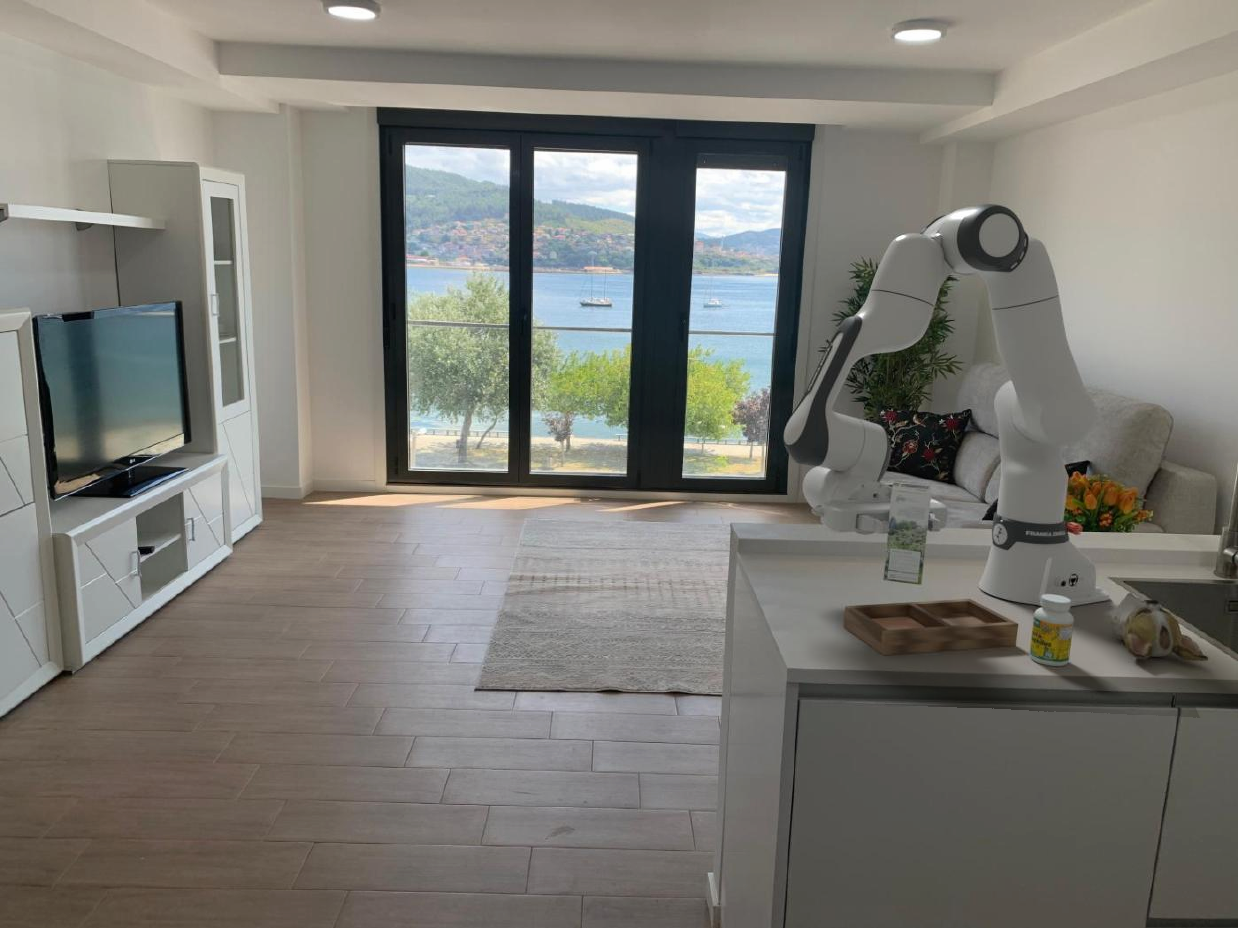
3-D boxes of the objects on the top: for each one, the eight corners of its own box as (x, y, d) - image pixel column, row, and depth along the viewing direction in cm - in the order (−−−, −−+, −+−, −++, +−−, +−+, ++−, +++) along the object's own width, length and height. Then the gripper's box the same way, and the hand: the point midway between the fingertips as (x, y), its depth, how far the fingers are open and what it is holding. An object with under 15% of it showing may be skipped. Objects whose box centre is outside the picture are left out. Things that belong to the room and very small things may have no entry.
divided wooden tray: (967, 618, 158) (970, 598, 158) (1015, 645, 147) (1018, 623, 146) (843, 626, 152) (845, 606, 151) (883, 655, 141) (885, 632, 140)
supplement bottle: (1076, 664, 140) (1084, 602, 138) (1049, 669, 138) (1057, 605, 136) (1047, 651, 145) (1055, 590, 143) (1020, 655, 143) (1028, 594, 141)
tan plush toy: (1164, 584, 152) (1220, 622, 137) (1155, 634, 154) (1209, 677, 139) (1097, 582, 152) (1145, 620, 138) (1089, 632, 154) (1136, 675, 140)
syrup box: (922, 575, 148) (931, 484, 146) (921, 586, 143) (931, 491, 140) (884, 570, 150) (893, 480, 147) (882, 581, 144) (891, 487, 142)
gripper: (808, 489, 154) (851, 509, 141) (919, 486, 159) (970, 505, 146) (805, 527, 155) (847, 550, 142) (915, 523, 160) (966, 545, 147)
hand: (911, 527), depth 144 cm, fingers closed on syrup box, 7 cm apart
